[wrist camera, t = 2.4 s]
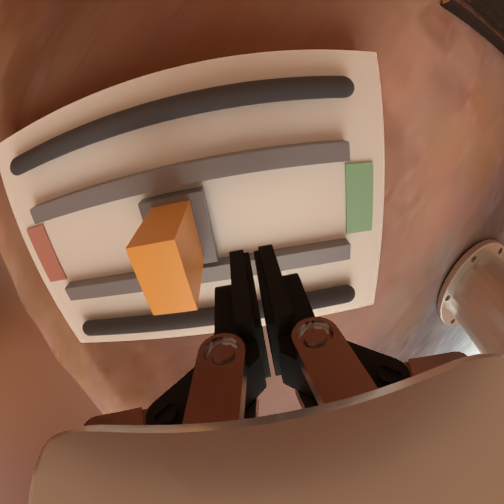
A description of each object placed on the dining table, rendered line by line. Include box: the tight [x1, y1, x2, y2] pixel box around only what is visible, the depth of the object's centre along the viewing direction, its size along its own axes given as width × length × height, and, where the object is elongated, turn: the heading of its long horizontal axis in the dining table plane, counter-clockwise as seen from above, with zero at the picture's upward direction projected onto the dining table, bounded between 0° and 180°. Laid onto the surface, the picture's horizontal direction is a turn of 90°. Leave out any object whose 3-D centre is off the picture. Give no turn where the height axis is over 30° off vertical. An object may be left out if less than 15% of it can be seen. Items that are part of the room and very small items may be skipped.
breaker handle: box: [126, 186, 218, 315], centre depth 15 cm, size 4×5×6 cm
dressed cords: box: [10, 76, 355, 336], centre depth 18 cm, size 23×16×1 cm
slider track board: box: [0, 50, 385, 343], centre depth 19 cm, size 28×20×4 cm
